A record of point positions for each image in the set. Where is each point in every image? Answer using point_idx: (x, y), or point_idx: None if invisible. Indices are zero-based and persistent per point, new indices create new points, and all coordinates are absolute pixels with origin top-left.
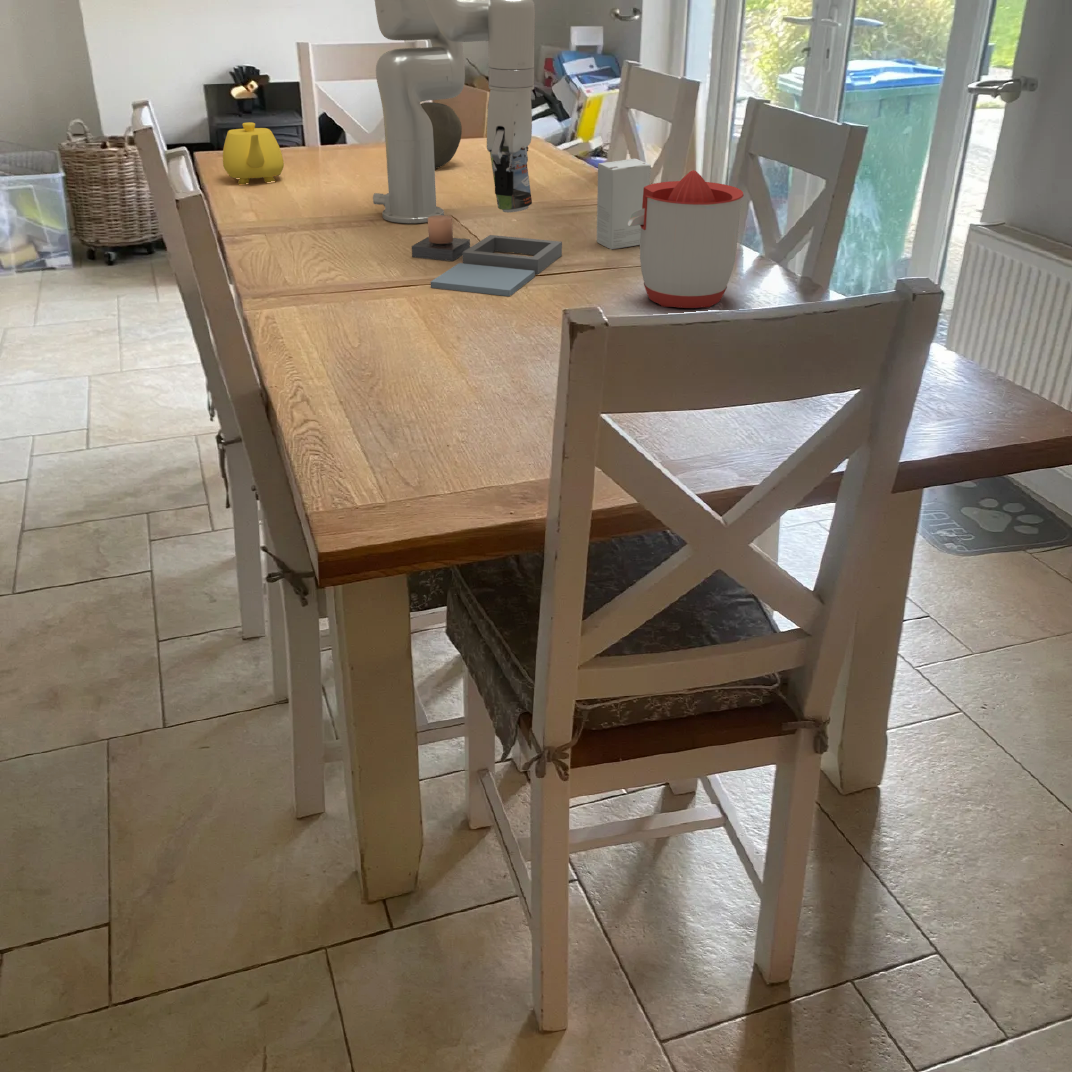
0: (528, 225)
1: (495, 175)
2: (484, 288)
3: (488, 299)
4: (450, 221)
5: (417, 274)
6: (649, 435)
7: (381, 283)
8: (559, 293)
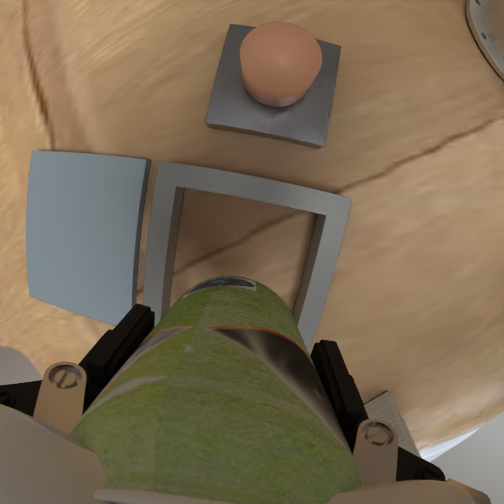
0: (499, 251)
1: (98, 349)
2: (27, 253)
3: (17, 262)
4: (267, 88)
5: (104, 91)
6: None
7: (56, 62)
8: (73, 360)
